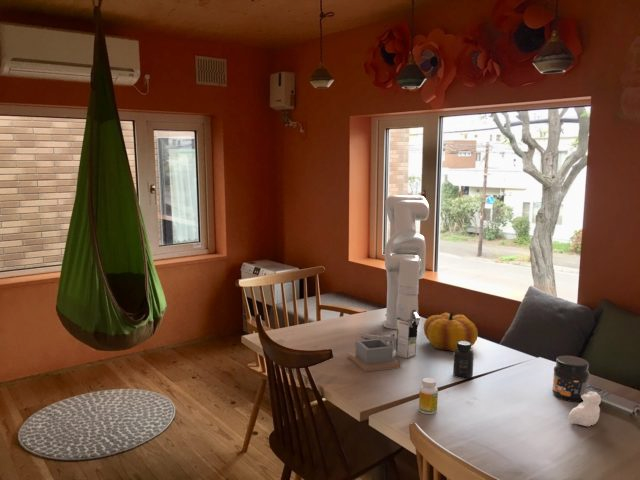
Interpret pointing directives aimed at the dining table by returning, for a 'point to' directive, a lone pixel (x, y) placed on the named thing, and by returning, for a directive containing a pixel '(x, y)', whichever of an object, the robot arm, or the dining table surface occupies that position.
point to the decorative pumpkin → (449, 330)
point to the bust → (586, 410)
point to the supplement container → (570, 378)
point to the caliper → (383, 338)
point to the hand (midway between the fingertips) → (406, 333)
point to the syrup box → (405, 340)
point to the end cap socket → (374, 355)
